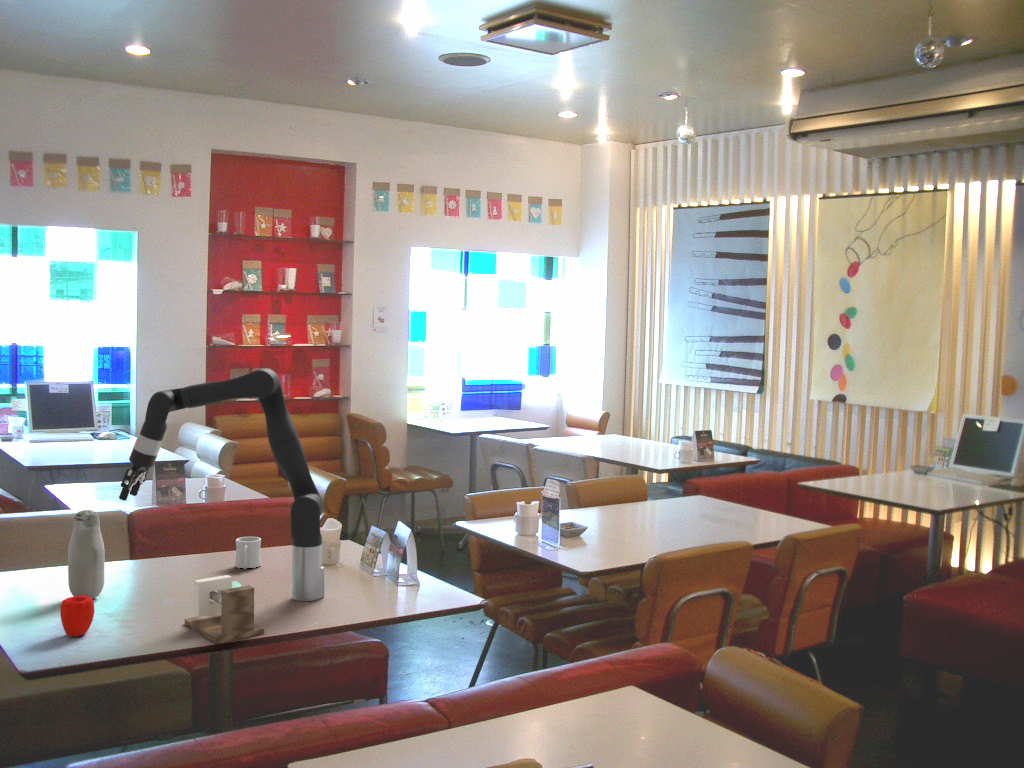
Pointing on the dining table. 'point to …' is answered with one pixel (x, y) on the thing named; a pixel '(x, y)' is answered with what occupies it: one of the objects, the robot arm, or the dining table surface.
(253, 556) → the mug
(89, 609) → the apple
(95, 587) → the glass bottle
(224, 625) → the rod rig
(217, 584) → the white square block
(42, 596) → the dining table surface
